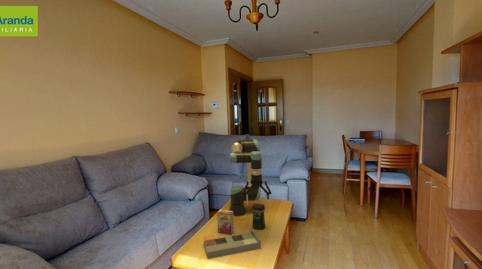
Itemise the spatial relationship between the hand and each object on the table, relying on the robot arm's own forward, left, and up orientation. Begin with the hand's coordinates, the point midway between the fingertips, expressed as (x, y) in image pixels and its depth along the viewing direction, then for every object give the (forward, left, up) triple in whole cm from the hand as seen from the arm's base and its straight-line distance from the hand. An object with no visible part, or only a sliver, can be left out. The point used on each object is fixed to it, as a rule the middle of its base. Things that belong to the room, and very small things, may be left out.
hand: (256, 203), depth 169 cm
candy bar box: (-15, -20, -25) cm, 35 cm away
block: (0, -34, -23) cm, 41 cm away
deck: (+4, -21, -25) cm, 33 cm away
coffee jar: (-14, +6, -25) cm, 30 cm away
